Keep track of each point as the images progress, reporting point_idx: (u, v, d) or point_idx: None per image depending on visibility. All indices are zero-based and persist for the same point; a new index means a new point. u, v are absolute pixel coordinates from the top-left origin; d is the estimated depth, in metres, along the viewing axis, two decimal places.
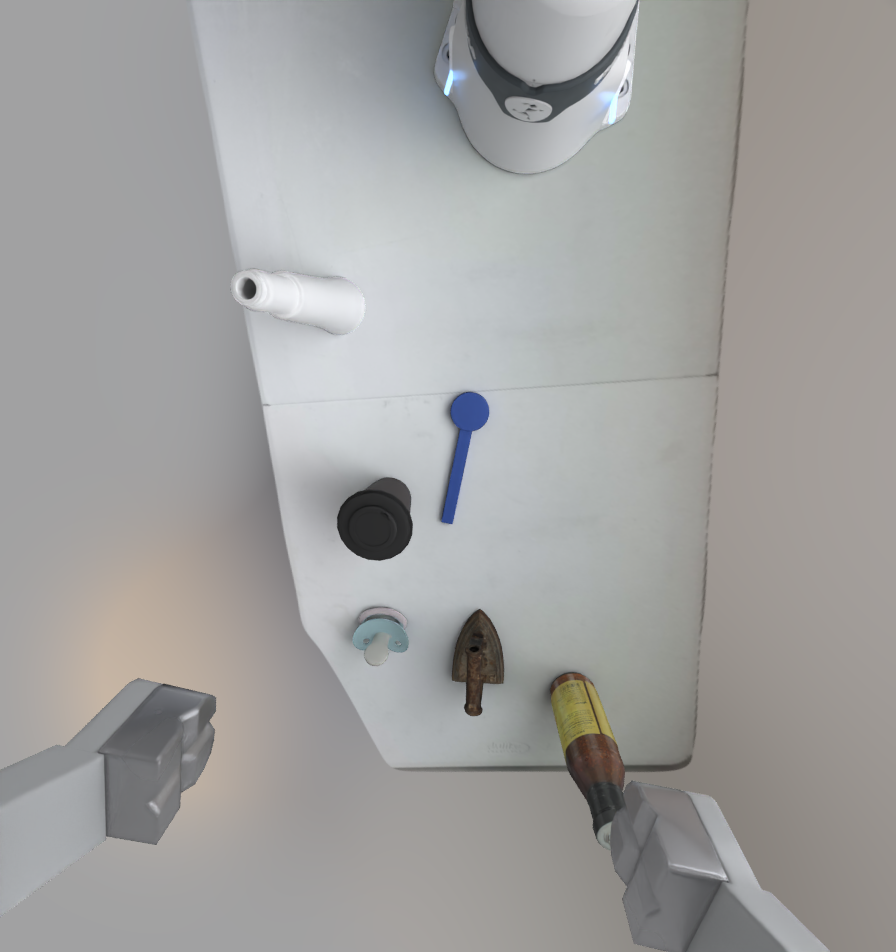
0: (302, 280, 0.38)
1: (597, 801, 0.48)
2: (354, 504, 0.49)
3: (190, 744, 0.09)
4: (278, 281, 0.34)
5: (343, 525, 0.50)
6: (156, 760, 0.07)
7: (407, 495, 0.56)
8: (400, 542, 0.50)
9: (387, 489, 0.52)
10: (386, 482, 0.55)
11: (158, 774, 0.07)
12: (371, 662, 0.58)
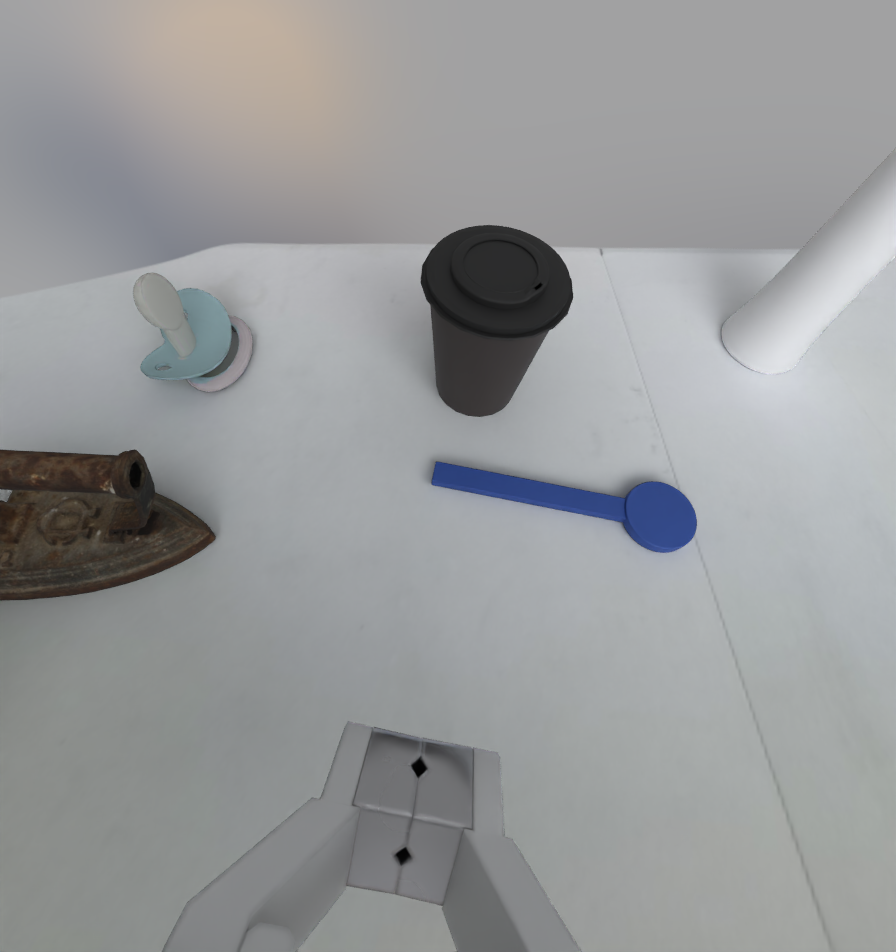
0: None
1: None
2: (543, 250, 0.26)
3: None
4: None
5: (498, 231, 0.26)
6: (409, 812, 0.07)
7: (504, 392, 0.29)
8: (470, 311, 0.23)
9: None
10: None
11: (409, 826, 0.07)
12: (147, 277, 0.27)
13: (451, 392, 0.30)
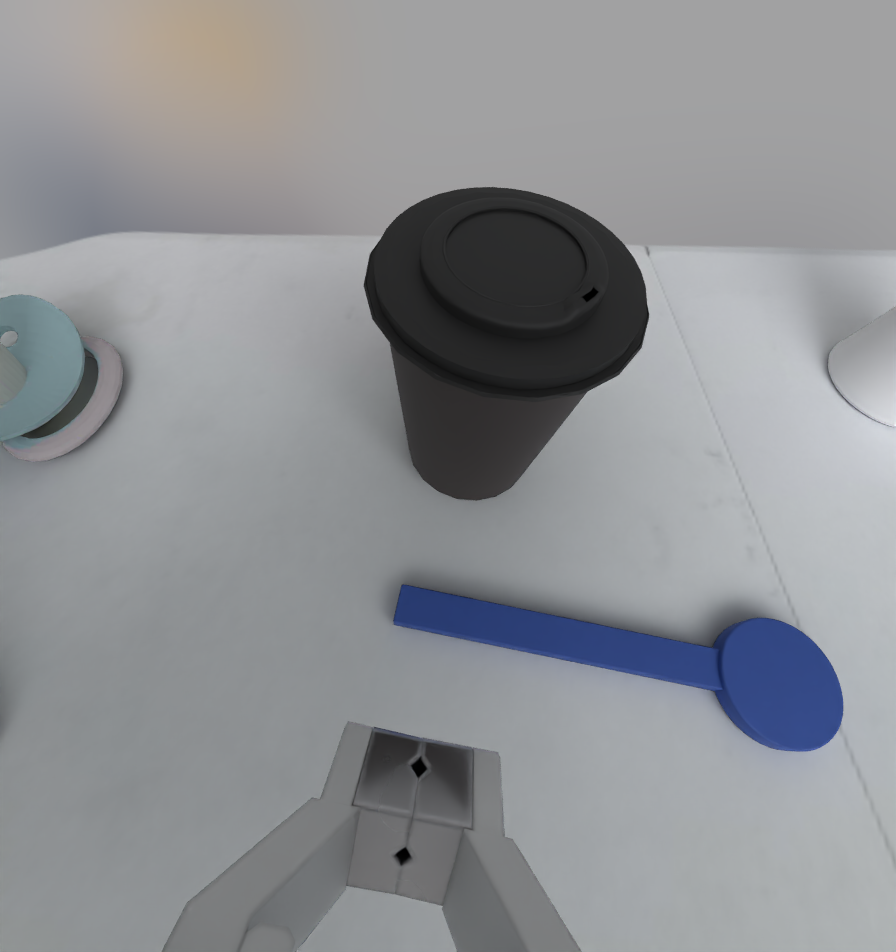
0: None
1: None
2: (591, 230, 0.14)
3: None
4: None
5: (510, 197, 0.15)
6: (409, 812, 0.07)
7: (515, 470, 0.18)
8: (456, 342, 0.12)
9: None
10: None
11: (409, 826, 0.07)
12: None
13: (429, 466, 0.18)
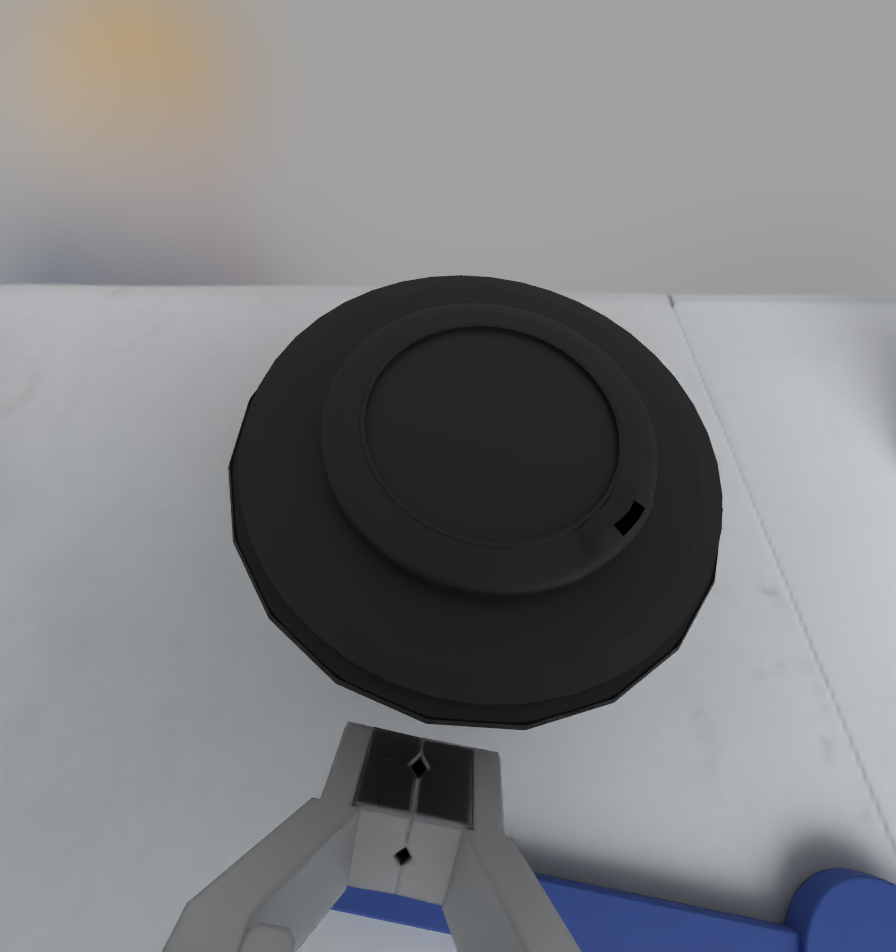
0: None
1: None
2: (621, 353, 0.09)
3: None
4: None
5: (489, 295, 0.09)
6: (409, 813, 0.07)
7: None
8: (374, 619, 0.06)
9: None
10: None
11: (410, 826, 0.07)
12: None
13: None
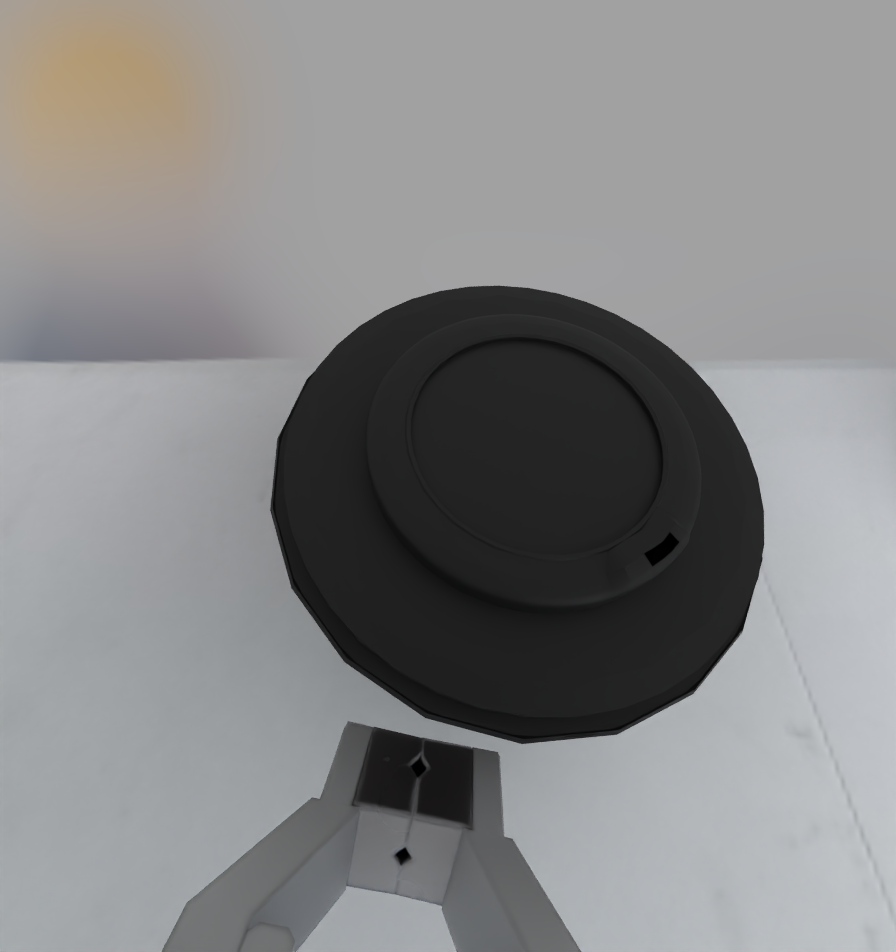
0: None
1: None
2: (678, 385, 0.08)
3: None
4: None
5: (553, 310, 0.09)
6: (409, 812, 0.07)
7: None
8: (391, 606, 0.06)
9: None
10: None
11: (410, 826, 0.07)
12: None
13: None
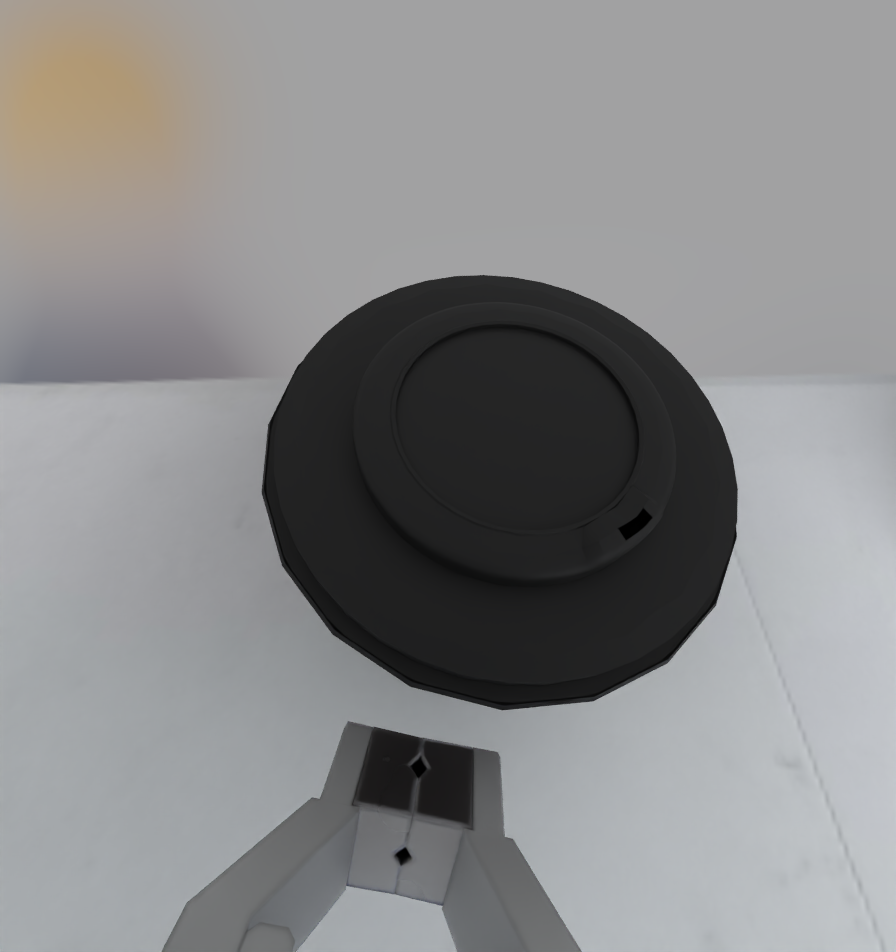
0: None
1: None
2: (657, 370, 0.09)
3: None
4: None
5: (536, 298, 0.09)
6: (409, 812, 0.07)
7: None
8: (376, 580, 0.06)
9: None
10: None
11: (409, 826, 0.07)
12: None
13: None
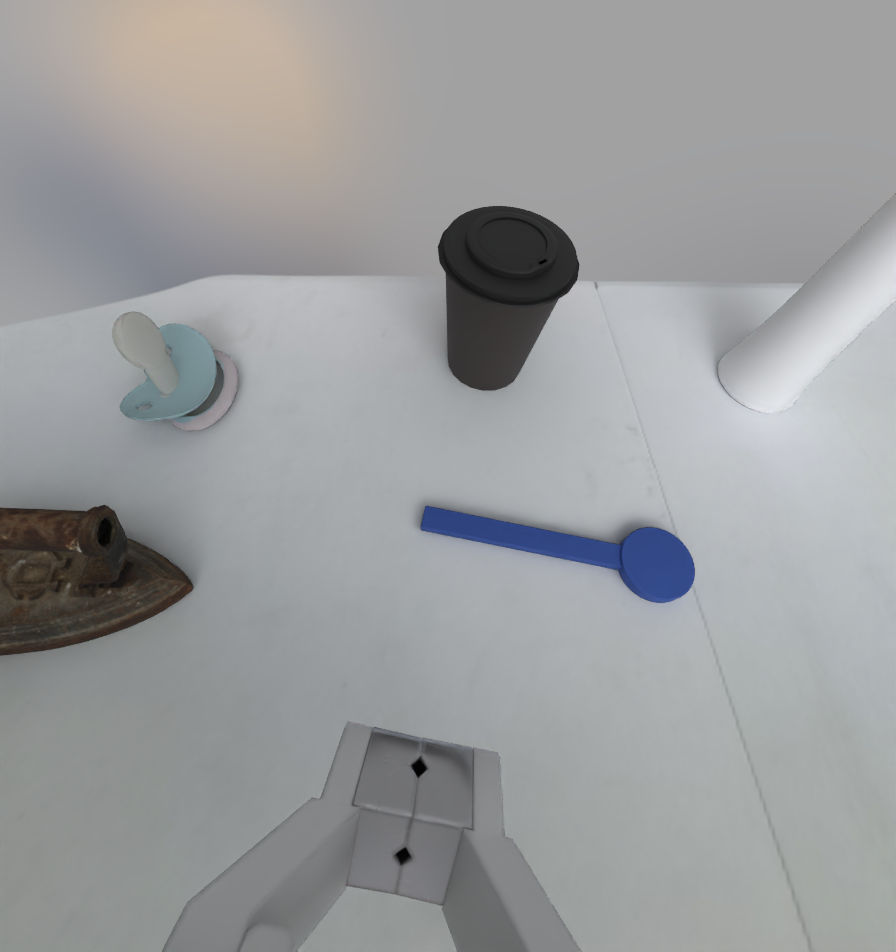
0: None
1: None
2: (557, 234, 0.27)
3: None
4: None
5: (519, 213, 0.28)
6: (409, 812, 0.07)
7: (505, 367, 0.31)
8: (476, 275, 0.25)
9: (549, 314, 0.29)
10: None
11: (409, 826, 0.07)
12: (127, 316, 0.26)
13: (457, 361, 0.32)
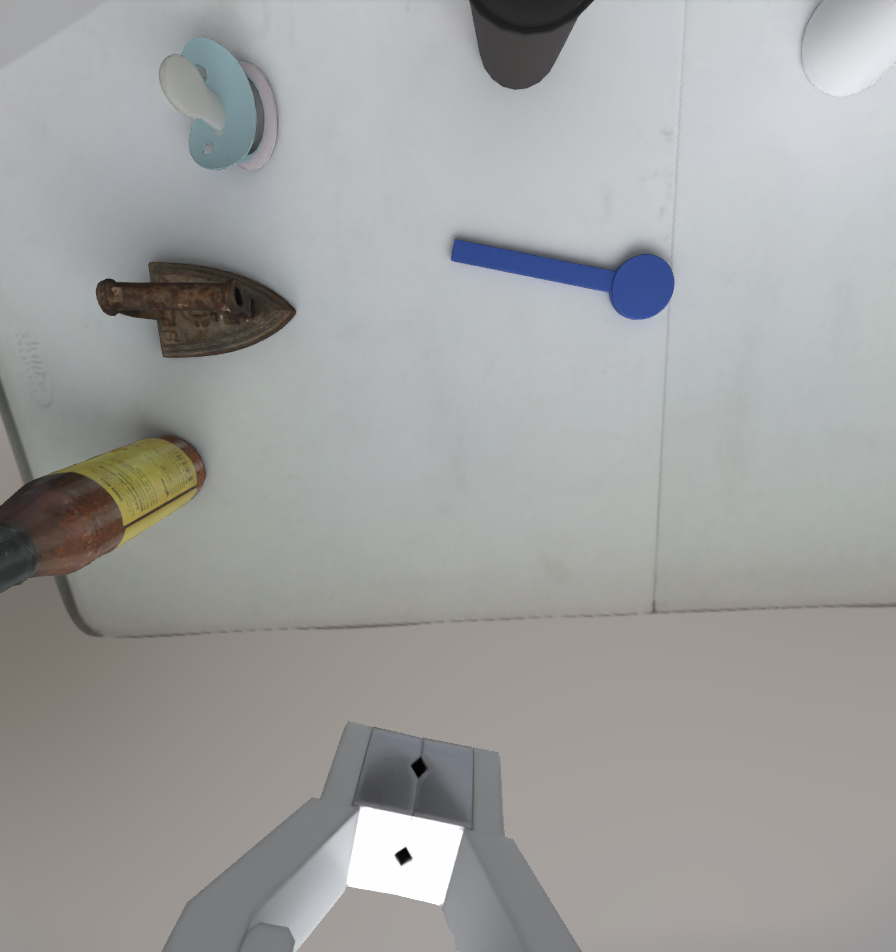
0: None
1: None
2: None
3: None
4: None
5: None
6: (409, 812, 0.07)
7: (535, 70, 0.29)
8: None
9: None
10: None
11: (409, 826, 0.07)
12: (167, 68, 0.28)
13: (486, 59, 0.30)
